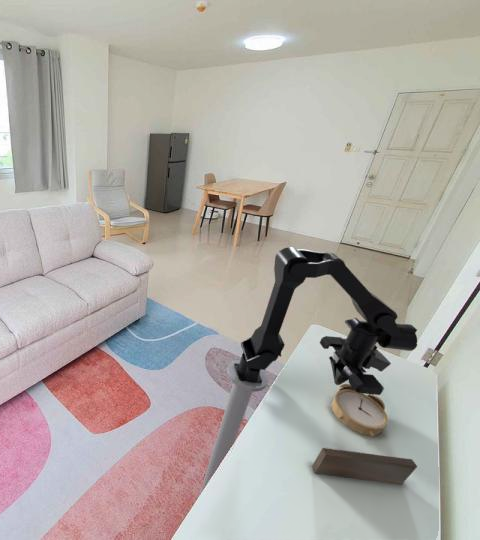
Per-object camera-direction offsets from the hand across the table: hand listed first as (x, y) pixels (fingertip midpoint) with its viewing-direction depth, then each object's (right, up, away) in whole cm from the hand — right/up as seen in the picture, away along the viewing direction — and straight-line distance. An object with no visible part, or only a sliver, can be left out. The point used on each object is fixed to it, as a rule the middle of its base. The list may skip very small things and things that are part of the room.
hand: (336, 384), depth 84 cm
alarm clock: (+2, -6, -5) cm, 8 cm away
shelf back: (-10, -13, -19) cm, 25 cm away
